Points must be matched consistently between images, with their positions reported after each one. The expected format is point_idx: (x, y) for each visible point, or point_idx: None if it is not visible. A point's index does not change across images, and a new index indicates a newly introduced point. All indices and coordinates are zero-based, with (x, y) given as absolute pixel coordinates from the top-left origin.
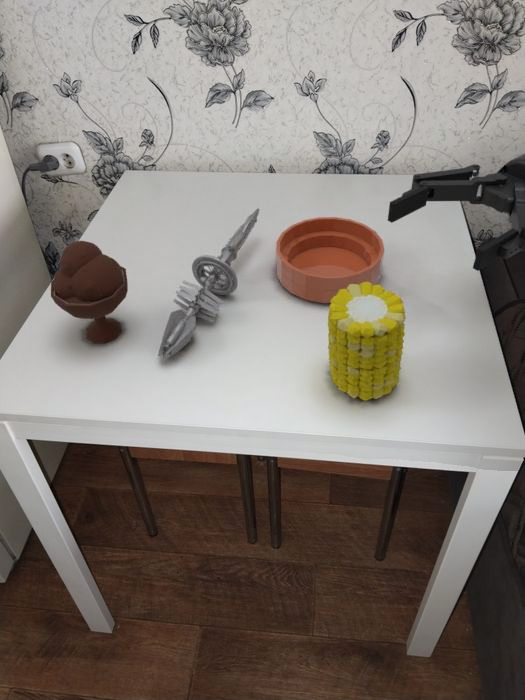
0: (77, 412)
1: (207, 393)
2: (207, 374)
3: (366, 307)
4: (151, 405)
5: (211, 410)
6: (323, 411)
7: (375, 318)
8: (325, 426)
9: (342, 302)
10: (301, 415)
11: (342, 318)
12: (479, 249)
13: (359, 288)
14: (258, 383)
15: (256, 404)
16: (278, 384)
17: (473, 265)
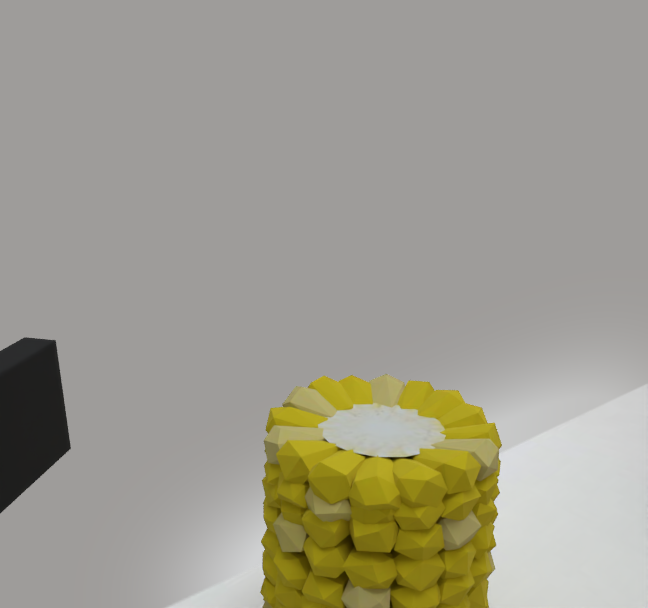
0: (625, 397)
1: (561, 486)
2: (613, 510)
3: (384, 429)
4: (584, 439)
5: (516, 471)
6: None
7: (336, 420)
8: None
9: (449, 415)
10: None
11: (402, 392)
12: (45, 341)
13: (459, 449)
14: (528, 544)
15: None
16: (499, 563)
17: (68, 434)
